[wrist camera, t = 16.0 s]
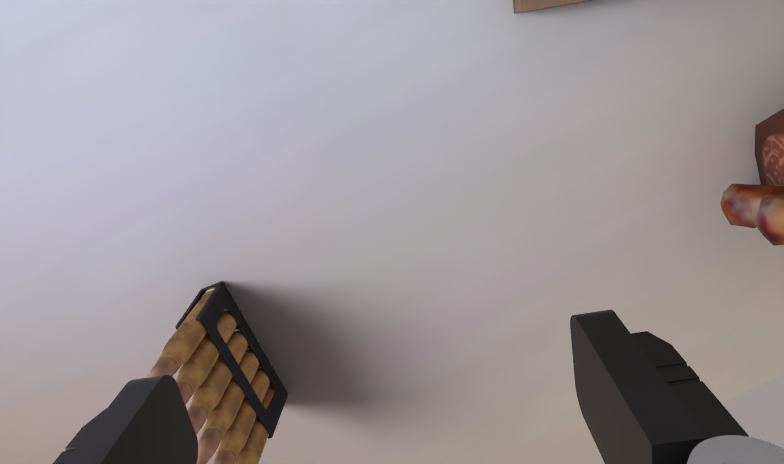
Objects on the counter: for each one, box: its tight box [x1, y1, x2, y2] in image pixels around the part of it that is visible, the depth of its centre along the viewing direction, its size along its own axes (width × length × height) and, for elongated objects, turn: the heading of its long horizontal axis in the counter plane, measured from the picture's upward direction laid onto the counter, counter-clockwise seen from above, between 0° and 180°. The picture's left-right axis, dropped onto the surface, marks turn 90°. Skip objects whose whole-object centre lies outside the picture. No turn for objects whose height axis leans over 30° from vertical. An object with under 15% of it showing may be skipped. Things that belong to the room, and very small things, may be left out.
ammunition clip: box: [147, 282, 288, 464], centre depth 36 cm, size 11×2×12 cm, turn 23°
